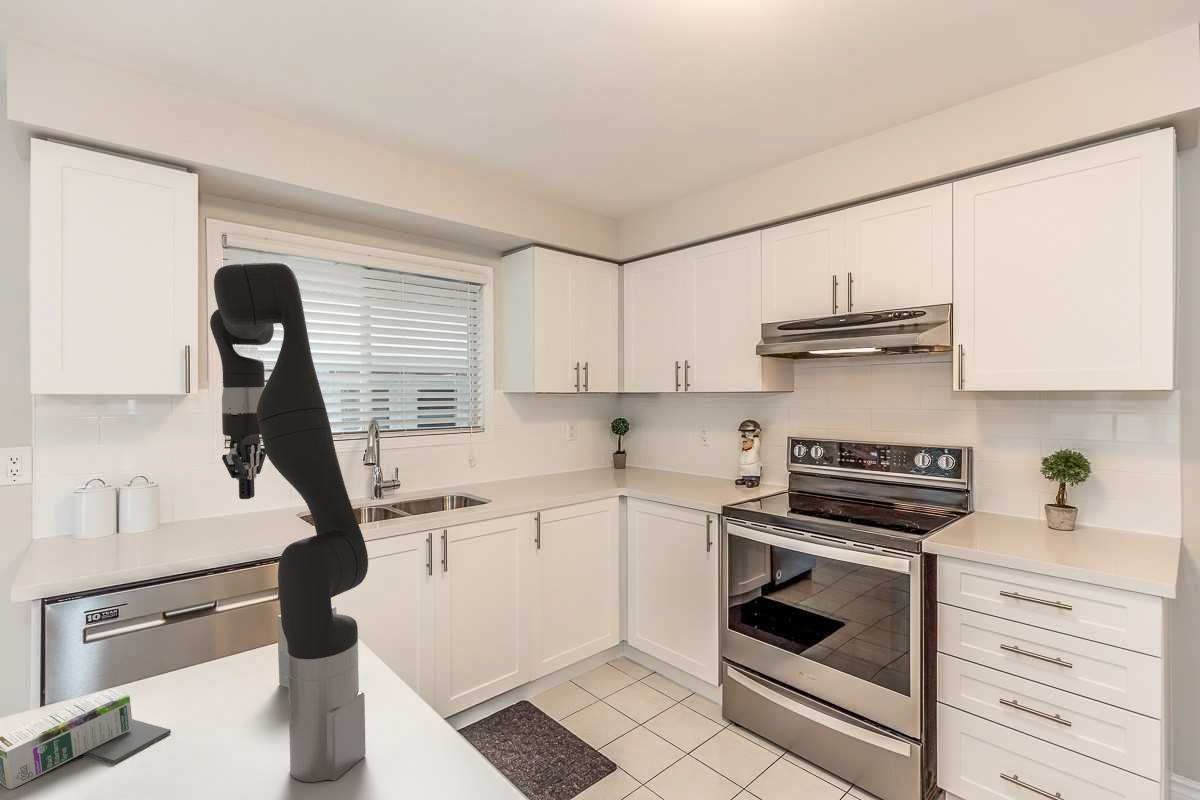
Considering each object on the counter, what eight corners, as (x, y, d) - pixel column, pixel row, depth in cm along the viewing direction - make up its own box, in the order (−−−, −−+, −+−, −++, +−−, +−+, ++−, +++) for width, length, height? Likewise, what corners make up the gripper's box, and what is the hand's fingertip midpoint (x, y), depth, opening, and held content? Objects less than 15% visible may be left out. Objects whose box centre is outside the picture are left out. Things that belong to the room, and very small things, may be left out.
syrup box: (134, 729, 92) (10, 792, 79) (116, 719, 95) (-7, 778, 82) (131, 695, 92) (5, 753, 79) (112, 685, 94) (-13, 740, 82)
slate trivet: (170, 733, 93) (170, 729, 93) (114, 764, 85) (114, 760, 85) (116, 718, 97) (116, 714, 97) (58, 746, 89) (58, 742, 89)
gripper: (242, 409, 121) (244, 492, 121) (205, 412, 108) (207, 505, 108) (280, 409, 122) (281, 491, 122) (247, 411, 108) (249, 504, 109)
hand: (246, 498), depth 115 cm, fingers closed
